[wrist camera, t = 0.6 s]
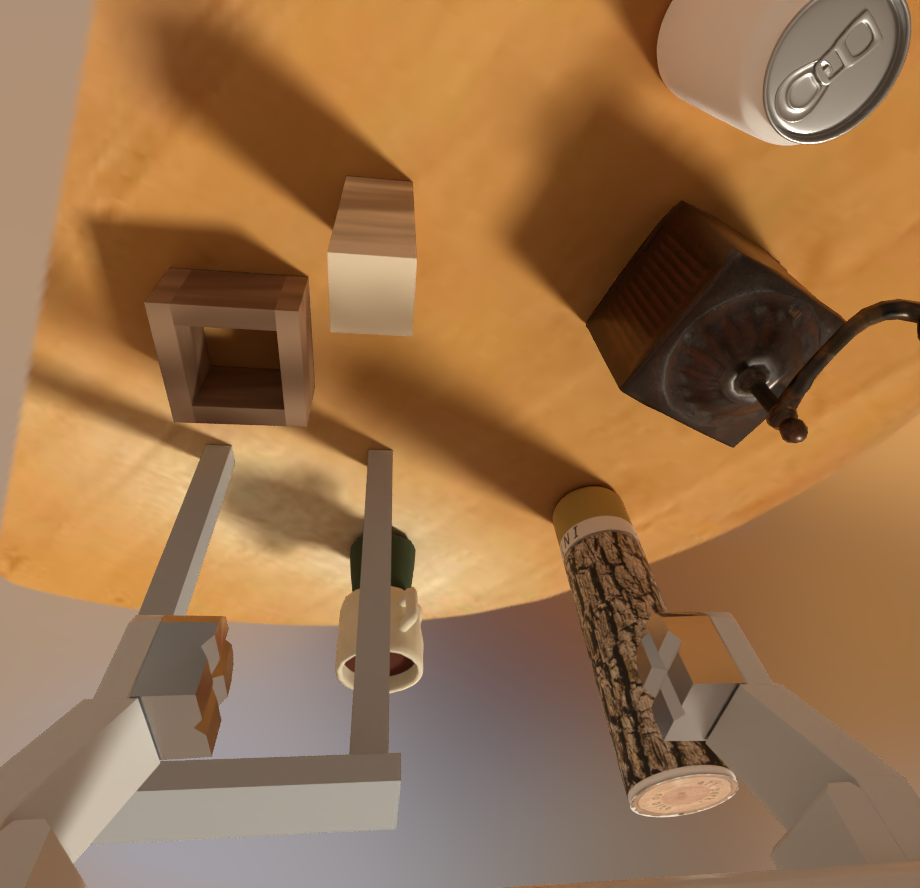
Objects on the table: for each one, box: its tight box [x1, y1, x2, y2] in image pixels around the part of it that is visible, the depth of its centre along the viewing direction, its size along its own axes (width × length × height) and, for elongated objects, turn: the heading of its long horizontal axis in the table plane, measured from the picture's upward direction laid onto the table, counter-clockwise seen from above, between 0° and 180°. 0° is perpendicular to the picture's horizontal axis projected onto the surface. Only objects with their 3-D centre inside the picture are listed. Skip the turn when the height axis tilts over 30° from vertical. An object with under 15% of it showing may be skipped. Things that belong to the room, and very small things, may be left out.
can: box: [657, 0, 911, 145], centre depth 28 cm, size 6×6×12 cm
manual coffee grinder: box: [586, 201, 920, 448], centre depth 34 cm, size 16×11×18 cm
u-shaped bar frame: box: [90, 445, 401, 845], centre depth 38 cm, size 6×16×27 cm, turn 84°
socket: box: [144, 268, 315, 427], centre depth 40 cm, size 9×9×5 cm
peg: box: [327, 176, 417, 336], centre depth 32 cm, size 4×4×12 cm
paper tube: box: [553, 486, 739, 817], centre depth 46 cm, size 7×7×25 cm
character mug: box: [335, 534, 423, 693], centre depth 52 cm, size 11×7×13 cm, turn 145°
